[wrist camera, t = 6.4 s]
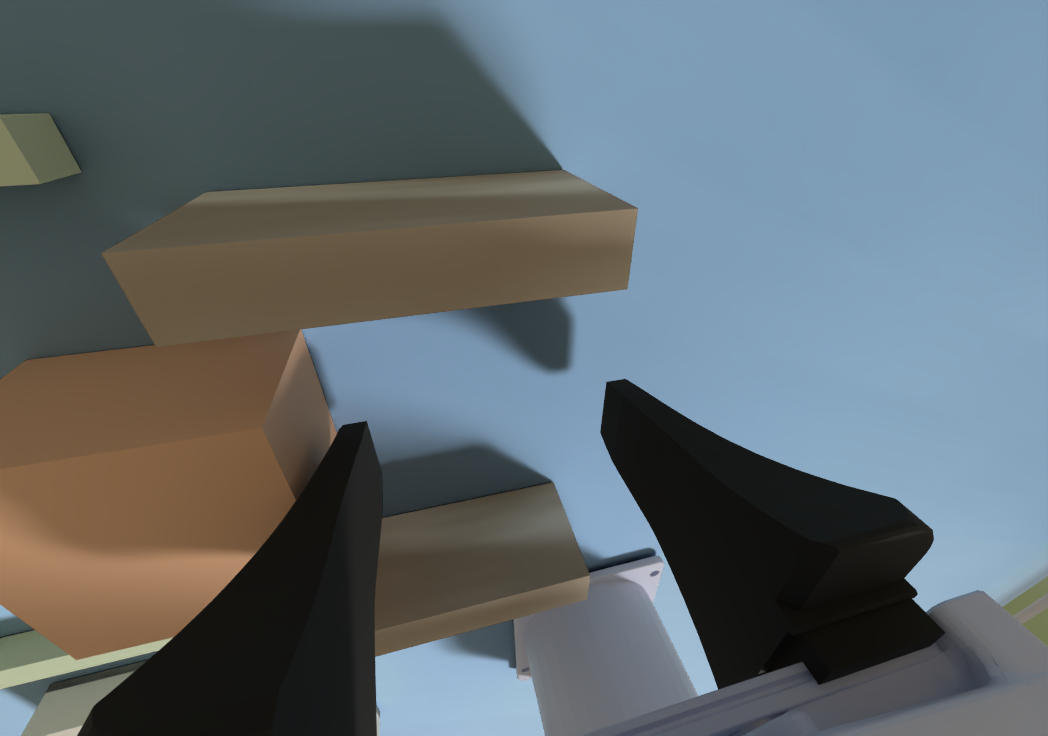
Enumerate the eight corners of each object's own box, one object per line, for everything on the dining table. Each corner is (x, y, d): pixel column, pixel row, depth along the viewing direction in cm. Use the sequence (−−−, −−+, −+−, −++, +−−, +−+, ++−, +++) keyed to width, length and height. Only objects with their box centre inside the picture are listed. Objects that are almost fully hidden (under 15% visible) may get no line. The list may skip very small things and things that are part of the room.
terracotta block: (354, 482, 14) (342, 597, 11) (153, 520, 13) (76, 660, 10) (300, 327, 11) (261, 428, 8) (26, 360, 10) (-153, 492, 7)
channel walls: (552, 506, 18) (586, 599, 15) (353, 550, 16) (342, 665, 13) (564, 169, 11) (638, 208, 7) (205, 192, 9) (100, 253, 6)
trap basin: (380, 711, 24) (378, 751, 23) (184, 769, 22) (169, 816, 21) (326, 615, 18) (321, 661, 17) (50, 684, 16) (16, 742, 15)
